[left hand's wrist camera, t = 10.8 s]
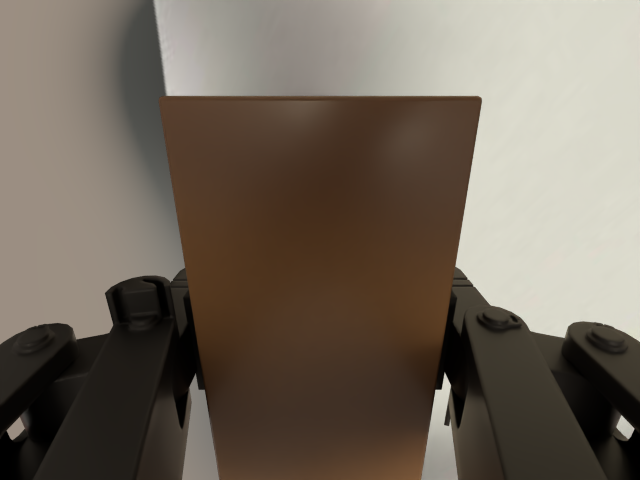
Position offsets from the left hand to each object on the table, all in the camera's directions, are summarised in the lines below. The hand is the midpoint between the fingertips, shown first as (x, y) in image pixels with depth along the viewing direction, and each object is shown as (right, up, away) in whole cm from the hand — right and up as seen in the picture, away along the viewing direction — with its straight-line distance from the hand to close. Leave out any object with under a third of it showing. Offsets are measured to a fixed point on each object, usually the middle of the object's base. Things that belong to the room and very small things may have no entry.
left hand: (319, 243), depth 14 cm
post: (0, -20, +9) cm, 22 cm away
